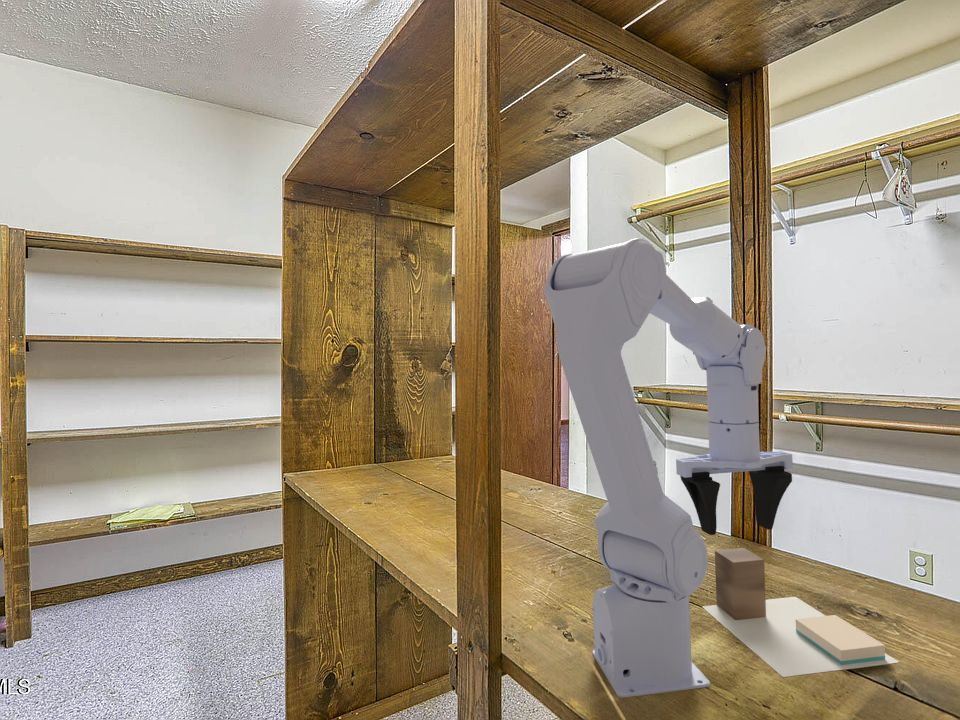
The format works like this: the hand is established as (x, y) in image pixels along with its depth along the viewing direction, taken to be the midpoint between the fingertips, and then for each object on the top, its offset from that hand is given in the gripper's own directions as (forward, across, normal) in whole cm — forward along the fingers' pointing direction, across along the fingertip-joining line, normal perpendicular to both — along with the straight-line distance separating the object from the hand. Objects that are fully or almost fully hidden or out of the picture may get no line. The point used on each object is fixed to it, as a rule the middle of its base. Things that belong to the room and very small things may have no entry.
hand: (736, 529), depth 66 cm
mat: (+10, +2, -6) cm, 12 cm away
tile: (+9, +5, -6) cm, 12 cm away
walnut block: (+10, 0, 0) cm, 10 cm away
